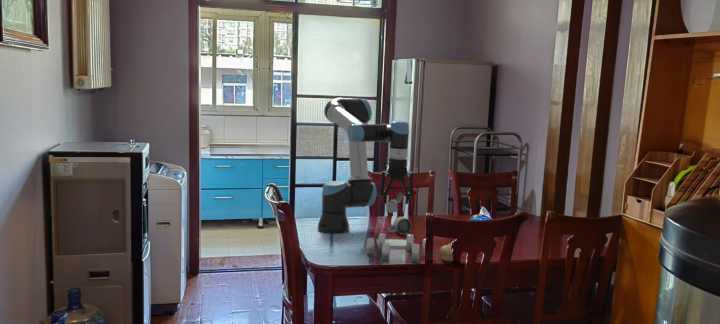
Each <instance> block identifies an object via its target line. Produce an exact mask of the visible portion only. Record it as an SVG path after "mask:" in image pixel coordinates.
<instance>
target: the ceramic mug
mask: <svg viewBox="0 0 720 324" xmlns="http://www.w3.org/2000/svg"><path fill="white" fill-rule="evenodd" d="M412 227H413V225H412V221H411V220H410V219H409V218H406V217H404V216H398V217H396V218H395V219H394V221H393V225H391V226H389V227H388V228H387V231H388V233H389V234H391V233H392V234H393V233H396V232H397V233H399V234H400V235H407V234H410V232H411V230H412Z"/></svg>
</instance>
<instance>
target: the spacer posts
mask: <svg viewBox="0 0 720 324" xmlns="http://www.w3.org/2000/svg"><path fill="white" fill-rule="evenodd" d="M386 235H387V234H386V233H378V238H377V239H378V245H377V251H378V252H381V262H382V263H389V262H390V249H391V248H390V244H389V243H385V239H387V236H386ZM414 238H415V236H414V234H413V233H407V234H406V239H405V240H406V249H405V252H408V253H411V263H413V264H417V263H419V262H420V252H421V257H423V258H425V257H424V255H425V243H426V239H427V238H423V239H422V243H421V244H422V247H421V251H420V246H421V245H420V244H419V243H414ZM365 252H366V253H365V254H366V257H371V258H372V257H374V255H375V253H374V252H375V238H374V237H367V238H366V251H365Z"/></svg>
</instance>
